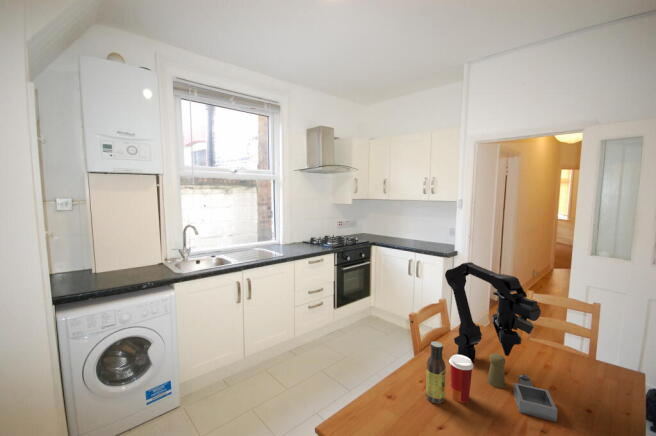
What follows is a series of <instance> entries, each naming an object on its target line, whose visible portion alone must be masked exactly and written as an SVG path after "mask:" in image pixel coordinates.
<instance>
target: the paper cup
mask: <svg viewBox="0 0 656 436" xmlns="http://www.w3.org/2000/svg"><path fill="white" fill-rule="evenodd" d="M448 363H449V364H450V365H449V366H450V391H451V393H450V394H451V397H452V400H454V401H456V402H458V403H461V404H465V403H468V402H469V401H470V400H469V399H470V392H471V383H472V374H473V368H474V367H475V365H474V363H473V362H472V361H471V359H469V358H468V357H466V356H463V355H457V354H454V355H451V357H450V358H449V360H448Z"/></svg>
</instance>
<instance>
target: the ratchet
mask: <svg viewBox="0 0 656 436" xmlns="http://www.w3.org/2000/svg"><path fill="white" fill-rule="evenodd" d="M517 379H518V381H519V382H518V383H517V382H513V391H512V392H513V396H514V400H515V402H516V405H517V409H518V412H519V414H524V415H527V416H531V417H535V418H539V419H544V420H548V421H550V422H554V423H555V422H556V423H558V422H557V421H558V411H559V410H558V407H556V404H555V402H554V400H553V398H552V396H551V393H550V392H549V390H548V389H544V388H541V387H540V388H538V387H536V386H534V385H533V381H532V380H531V378H530V377H529V376H528V375H527V374H523V373H522V374H519V376H518V377H517Z"/></svg>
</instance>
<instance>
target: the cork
mask: <svg viewBox="0 0 656 436" xmlns="http://www.w3.org/2000/svg"><path fill="white" fill-rule="evenodd" d="M488 360H489V362H490V364H489V369H488V374H487V379H486V382H487V383H488V385H490V386H492V387H493V388H497V389H504V388H505V387H506V380H505V370H504V369H505V368H504V366H505V365H506V359H505V357H504V356H503V355H501V354H500V353H490V354H489V359H488Z"/></svg>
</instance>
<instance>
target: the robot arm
mask: <svg viewBox="0 0 656 436" xmlns="http://www.w3.org/2000/svg"><path fill="white" fill-rule="evenodd" d="M470 275H471V276H474V277H476V278H478V279H480V280H482V281H484V282H487V283H488V284H490V285H491V286H492V287H493V289H495V290H496V291H494V292H492V295H494V296H496V297H497V298H498V301H497V308H496V313H493V314H492V315H491V320H492V324H493V328H494V329H495V330H494V331H495V332H496V335H497V338H498V341H499V344H501V346H502V349H503V353H504V356H507V357H510V354H511V352H512V350H513V347H514V346H515V345H518V346H519V345H521V344H522V337H521V336H520V334H519V333H518V332H517V331H518V330H521V331H522V332H525V333H526V334H528V335H531V333H532V332H533V330H534V328H535V325H534V324H533V323H532V322H535V321H537V320H538V319H539V318H540V317H541V313H542V312H541V311H542V309H541V308H540V306H539V305H538V301H537V300H534V299H529V298H528V295H527V294H526V292H525V290H524V289H523V286H522V284H521V282H520V280H519V278H518V277H516V276H514V275H509V274H504V273H503V274H501V273H498V272H497V273H496V272H495V271H492V270H489V269H487V268H484V267H482V266H480V265H477V264H474V262H471V261H469V262H462V263H461V264H460V265H457V266H455V267H453V268H449V269H447V270H446V271H445V273H444V278H445V280H446V282H447V284H448V286H449V287H450V288H451V289H452V292H453V296H454V300H455V304H456V309H457V313H458V317H459V322H460V324H459V327H458V335H457V336H455V337H454V338H453V341H454V344H455V345H457V352H456V355H463V356H466V357H468V358H469V359H471V361H472V364H474V363H475V359H476V347H475V346H477V345H478V344H479V343H480V342H481V341H482V336H483V334H482V332H481V326H480V325H476V323H475V322H474V321H473V316H472V313H471V308H470V305H469V302H468V301H469V300H468V297H467V293H466V290H465V289H466V288H465V287H466V284H467V276H470Z"/></svg>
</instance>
